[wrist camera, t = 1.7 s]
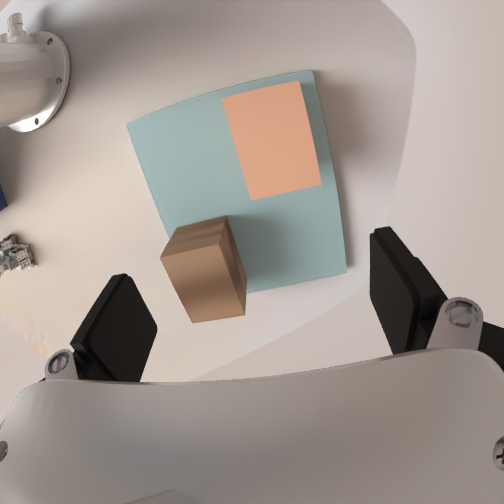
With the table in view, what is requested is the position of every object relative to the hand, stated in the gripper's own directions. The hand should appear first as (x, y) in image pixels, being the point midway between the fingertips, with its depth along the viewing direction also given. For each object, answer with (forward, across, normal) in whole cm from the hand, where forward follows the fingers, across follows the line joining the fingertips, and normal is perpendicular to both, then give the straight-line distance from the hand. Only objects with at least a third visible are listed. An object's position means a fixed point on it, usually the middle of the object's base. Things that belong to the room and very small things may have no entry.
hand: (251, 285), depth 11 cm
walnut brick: (+18, +7, +8) cm, 21 cm away
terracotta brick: (+18, -2, -3) cm, 19 cm away
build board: (+19, +2, +3) cm, 20 cm away
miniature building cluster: (+20, +36, 0) cm, 41 cm away
